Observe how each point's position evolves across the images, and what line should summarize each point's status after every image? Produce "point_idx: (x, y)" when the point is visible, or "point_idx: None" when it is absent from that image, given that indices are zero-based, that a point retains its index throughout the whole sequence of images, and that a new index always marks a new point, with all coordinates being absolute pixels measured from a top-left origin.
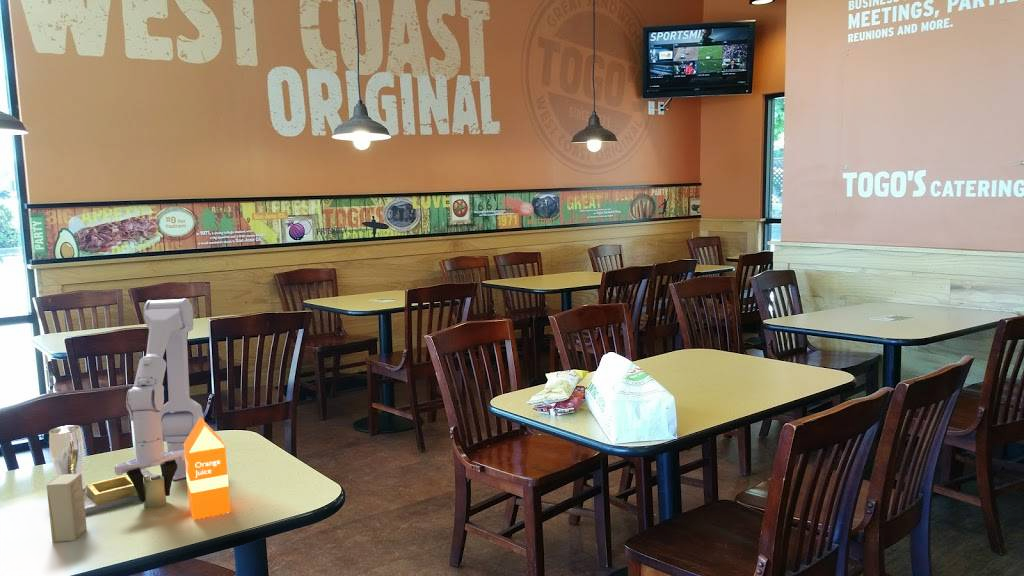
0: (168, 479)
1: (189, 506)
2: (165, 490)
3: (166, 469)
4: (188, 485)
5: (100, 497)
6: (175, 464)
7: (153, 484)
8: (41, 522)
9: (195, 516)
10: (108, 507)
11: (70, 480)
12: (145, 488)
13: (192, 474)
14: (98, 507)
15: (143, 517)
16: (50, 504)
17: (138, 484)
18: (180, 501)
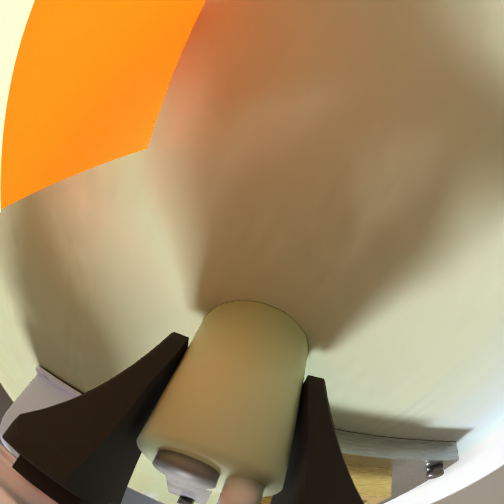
0: (120, 402)
1: (146, 136)
2: (174, 368)
3: (84, 473)
4: (22, 28)
5: (378, 483)
6: (11, 446)
7: (239, 437)
8: (485, 456)
9: None
10: (375, 441)
11: None
12: (289, 441)
13: None
14: (403, 451)
15: (405, 255)
16: None
17: (340, 486)
18: (148, 271)
